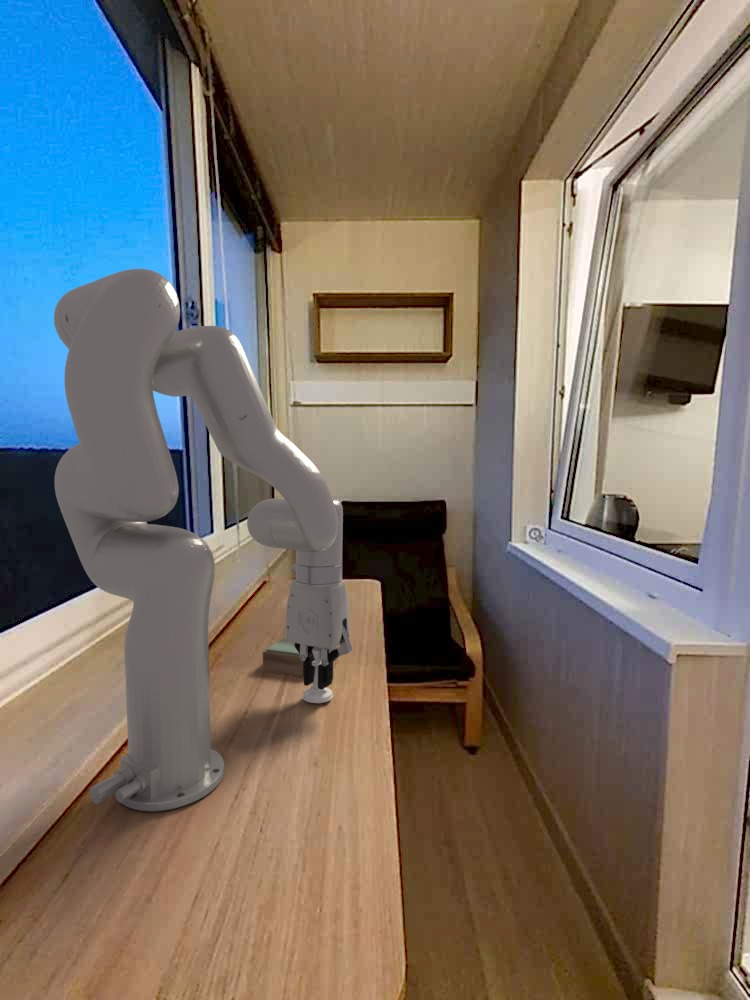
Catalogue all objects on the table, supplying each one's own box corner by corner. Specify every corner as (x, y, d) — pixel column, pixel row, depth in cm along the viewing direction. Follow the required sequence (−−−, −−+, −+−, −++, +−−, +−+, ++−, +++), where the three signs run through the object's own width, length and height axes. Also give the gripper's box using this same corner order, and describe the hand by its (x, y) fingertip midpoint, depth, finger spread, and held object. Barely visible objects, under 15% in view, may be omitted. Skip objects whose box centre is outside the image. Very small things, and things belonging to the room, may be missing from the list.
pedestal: (311, 677, 98) (311, 656, 98) (263, 670, 102) (262, 649, 101) (333, 658, 108) (333, 638, 107) (288, 652, 111) (288, 633, 111)
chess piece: (327, 704, 87) (328, 643, 86) (298, 701, 88) (298, 640, 87) (336, 692, 91) (336, 634, 91) (308, 689, 92) (308, 631, 92)
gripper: (265, 572, 89) (265, 682, 90) (348, 584, 81) (346, 704, 82) (293, 565, 95) (293, 668, 96) (373, 575, 88) (371, 687, 89)
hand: (317, 683), depth 89 cm, fingers closed on chess piece
